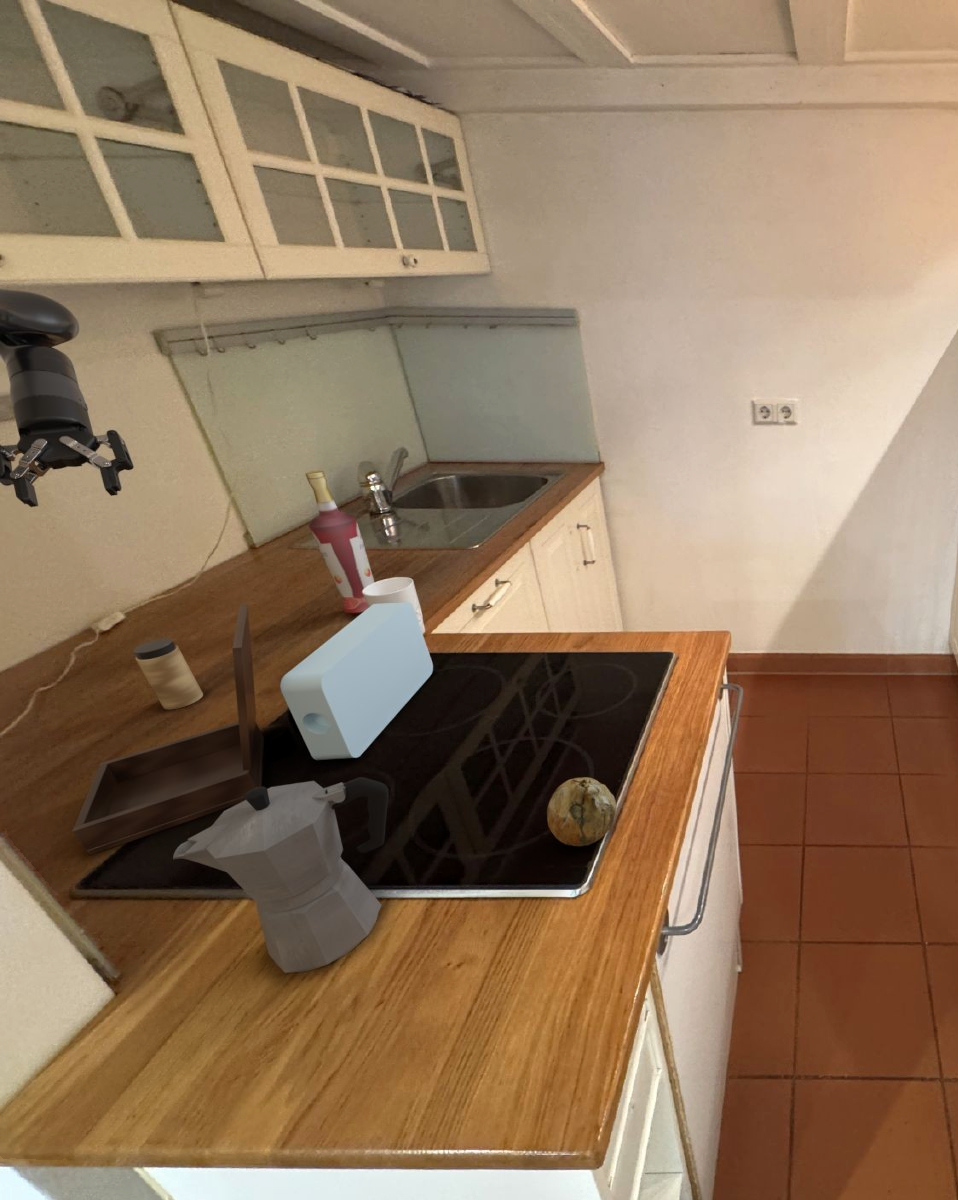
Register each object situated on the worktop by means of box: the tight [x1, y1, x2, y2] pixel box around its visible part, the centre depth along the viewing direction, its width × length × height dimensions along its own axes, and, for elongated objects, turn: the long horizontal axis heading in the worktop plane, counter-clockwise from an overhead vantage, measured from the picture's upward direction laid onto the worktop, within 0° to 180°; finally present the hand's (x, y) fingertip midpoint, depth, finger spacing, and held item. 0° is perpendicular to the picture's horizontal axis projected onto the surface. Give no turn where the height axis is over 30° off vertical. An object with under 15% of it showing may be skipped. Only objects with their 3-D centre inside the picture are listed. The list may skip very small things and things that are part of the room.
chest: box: [71, 721, 265, 856], centre depth 83 cm, size 16×15×4 cm
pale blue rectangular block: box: [280, 602, 434, 761], centre depth 95 cm, size 23×6×13 cm, turn 4°
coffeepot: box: [172, 776, 390, 974], centre depth 61 cm, size 15×9×18 cm, turn 125°
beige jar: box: [132, 638, 204, 710], centre depth 100 cm, size 5×5×10 cm
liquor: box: [305, 470, 376, 617], centre depth 124 cm, size 7×7×28 cm
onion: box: [546, 776, 618, 847], centre depth 74 cm, size 8×8×8 cm
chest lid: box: [231, 604, 257, 770], centre depth 83 cm, size 16×15×1 cm
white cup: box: [362, 576, 426, 635], centre depth 118 cm, size 8×8×10 cm
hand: (72, 498), depth 97 cm, fingers open, 8 cm apart
